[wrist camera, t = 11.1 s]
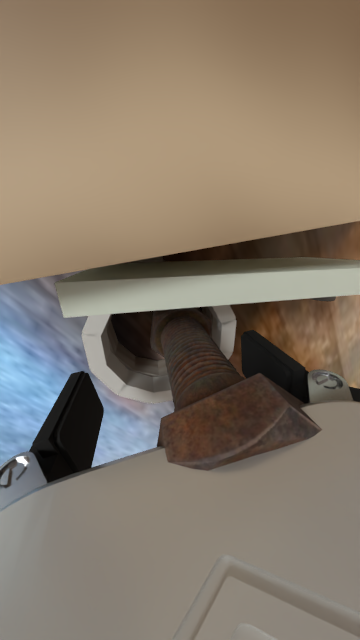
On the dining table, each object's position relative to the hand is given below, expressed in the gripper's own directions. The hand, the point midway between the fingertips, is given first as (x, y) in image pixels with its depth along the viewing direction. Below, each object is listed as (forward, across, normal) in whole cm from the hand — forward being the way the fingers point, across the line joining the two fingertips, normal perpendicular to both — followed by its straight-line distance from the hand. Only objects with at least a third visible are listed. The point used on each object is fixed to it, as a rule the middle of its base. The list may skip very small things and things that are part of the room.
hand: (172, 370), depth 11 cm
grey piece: (+5, -3, 0) cm, 6 cm away
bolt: (+8, -1, -1) cm, 8 cm away
